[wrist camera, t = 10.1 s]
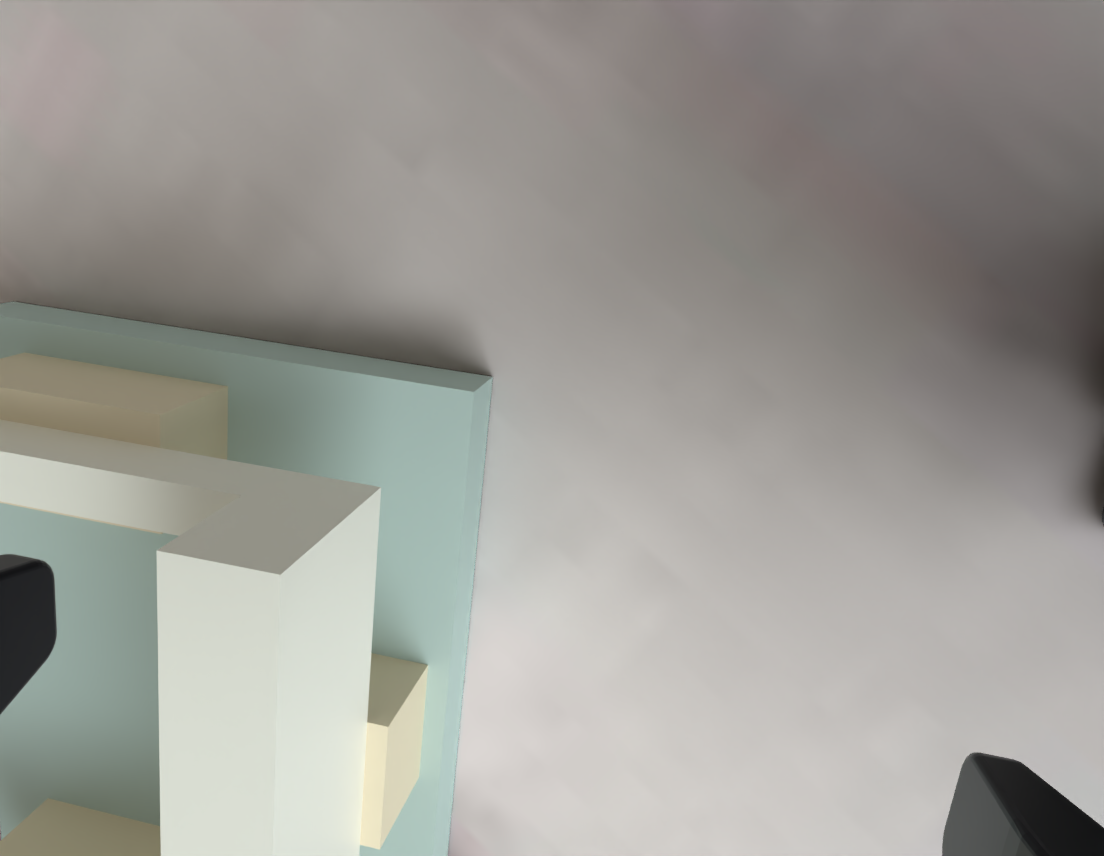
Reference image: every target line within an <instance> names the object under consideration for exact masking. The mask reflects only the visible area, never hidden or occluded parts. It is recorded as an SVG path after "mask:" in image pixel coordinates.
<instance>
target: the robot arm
mask: <svg viewBox="0 0 1104 856" xmlns="http://www.w3.org/2000/svg"><path fill="white" fill-rule="evenodd" d="M1102 522H1103V525H1104V509H1103V513H1102ZM56 637H57V621H56V599H55V578H54V573H53V570H52V568H51V567H50V565H49V564H48V563H46V562H45V561H43V560H40V559H35V558H30V557H25V556H20V555H15V554H4V555H0V715H1V714H2V712H3V711H4V710H5V709H6V708H7V706H8V705H9V704H10V703H11V702H12V701H13V699H14V698H15V697H16V696H17V695H18V693H19V692H20V691H21V690H22V689H23V688H24V686H25V685H26V684H27V683H28V682H29V680H30V679H31V678H32V677H33V676H34V675H35V673H36V672H37V671H38V670H39V669H40V667H41V666H42V665H43V664H44V663H45V662H46V660H47V659H48V658H49V656H50V654H51V652H52V650H53V648H54V645H55V642H56ZM942 856H1104V828H1103V827H1102V826H1101V825H1099V824H1098V823H1097V822H1096V821H1094V820H1093V819H1092V818H1091V817H1089V816H1088V815H1087V814H1086V813H1084V812H1083V811H1082V810H1081V809H1079V808H1078V807H1077V806H1075V805H1074V804H1073V803H1072V802H1070V801H1069V800H1068V799H1067V798H1065V797H1064V796H1063V795H1062V794H1060V793H1059V792H1058V791H1057V790H1055V789H1054V788H1053V787H1052V786H1050V785H1049V784H1048V783H1047V782H1045V781H1044V780H1043V779H1042V778H1040V777H1039V776H1038V775H1036V774H1035V773H1034V772H1033V771H1031V770H1030V769H1029V768H1028V767H1026V766H1025V765H1024V764H1022V763H1021V762H1019V761H1016V760H1013V759H1009V758H1004V757H999V756H994V755H989V754H984V753H972V754H970V755H969V756H968V757H967V758H966V759H965V761H964V763H963V765H962V768H961V771H960V775H959V779H958V782H957V786H956V789H955V793H954V797H953V800H952V804H951V807H950V811H949V815H948V818H947V822H946V825H945V830H944V835H943V845H942Z"/></svg>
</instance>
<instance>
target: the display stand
mask: <svg viewBox="0 0 1104 856" xmlns="http://www.w3.org/2000/svg"><path fill="white" fill-rule="evenodd" d="M492 380H493V377H491V376H485V375H478V374H472V373H466V372H459V371H453V370H447V369H440V368H434V367H427V366H421V365H415V364H408V363H402V362H396V361H389V360H383V359H377V358H370V357H364V356H357V355H351V354H345V353H338V352H332V351H326V350H319V349H313V348H306V347H300V346H294V345H287V344H281V343H275V342H268V341H262V340H256V339H249V338H243V337H236V336H230V335H224V334H217V333H211V332H205V331H198V330H192V329H185V328H179V327H173V326H166V325H160V324H154V323H147V322H141V321H135V320H128V319H122V318H115V317H109V316H103V315H96V314H90V313H84V312H77V311H71V310H64V309H58V308H52V307H45V306H39V305H33V304H26V303H20V302H14V301H13V302H7V303H2V304H0V420H6V421H12V422H17V423H23V424H29V425H34V426H40V427H45V428H51V429H57V430H62V431H68V432H74V433H79V434H85V435H90V436H96V437H102V438H107V439H113V440H119V441H124V442H130V443H135V444H141V445H147V446H152V447H158V448H164V449H169V450H175V451H181V452H186V453H192V454H197V455H203V456H209V457H214V458H220V459H226V460H231V461H237V462H242V463H248V464H254V465H259V466H265V467H271V468H276V469H282V470H287V471H293V472H299V473H304V474H310V475H316V476H321V477H327V478H332V479H338V480H344V481H349V482H355V483H361V484H366V485H372V486H377V487H381V499H380V516H379V533H378V549H377V566H376V583H375V600H374V616H373V633H372V650H371V667H370V684H369V700H368V717H367V734H366V751H365V768H364V784H363V801H362V818H361V835H360V852H359V856H447V855H448V845H449V834H450V824H451V813H452V802H453V792H454V781H455V771H456V760H457V750H458V739H459V729H460V718H461V707H462V697H463V686H464V676H465V665H466V655H467V644H468V634H469V623H470V612H471V602H472V591H473V581H474V570H475V560H476V549H477V539H478V528H479V518H480V507H481V496H482V486H483V475H484V465H485V454H486V444H487V433H488V423H489V412H490V401H491V391H492ZM177 537H178V536H177V535H172V534H167V533H162V532H156V531H151V530H146V529H141V528H136V527H131V526H125V525H120V524H115V523H110V522H105V521H100V520H94V519H89V518H84V517H79V516H74V515H69V514H63V513H58V512H53V511H48V510H43V509H38V508H32V507H27V506H22V505H17V504H12V503H7V502H1V501H0V555H4V554H15V555H20V556H25V557H30V558H35V559H40V560H43V561H45V562H46V563H48V564H49V565H50V567H51V568H52V570H53V573H54V578H55V599H56V621H57V637H56V642H55V645H54V648H53V650H52V652H51V654H50V656H49V658H48V659H47V660H46V662H45V663H44V664H43V665H42V666H41V667H40V669H39V670H38V671H37V672H36V673H35V675H34V676H33V677H32V678H31V679H30V680H29V682H28V683H27V684H26V685H25V686H24V688H23V689H22V690H21V691H20V692H19V693H18V695H17V696H16V697H15V698H14V699H13V701H12V702H11V703H10V704H9V705H8V706H7V708H6V709H5V710H4V711H3V712H2V714H1V715H0V827H1V841H0V856H161V837H160V765H159V694H158V622H157V550H158V549H160V548H161V547H163V546H164V545H166V544H167V543H169V542H170V541H172V540H173V539H175V538H177Z"/></svg>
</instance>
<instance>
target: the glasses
mask: <svg viewBox="0 0 1104 856" xmlns="http://www.w3.org/2000/svg"><path fill="white" fill-rule="evenodd" d="M380 499H381V487H377V486H372V485H366V484H361V483H355V482H349V481H344V480H338V479H332V478H327V477H321V476H316V475H310V474H304V473H299V472H293V471H287V470H282V469H276V468H271V467H265V466H259V465H254V464H248V463H242V462H237V461H231V460H226V459H220V458H214V457H209V456H203V455H197V454H192V453H186V452H181V451H175V450H169V449H164V448H158V447H152V446H147V445H141V444H135V443H130V442H124V441H119V440H113V439H107V438H102V437H96V436H90V435H85V434H79V433H74V432H68V431H62V430H57V429H51V428H45V427H40V426H34V425H29V424H23V423H17V422H12V421H6V420H0V501H1V502H7V503H12V504H17V505H22V506H27V507H32V508H38V509H43V510H48V511H53V512H58V513H63V514H69V515H74V516H79V517H84V518H89V519H94V520H100V521H105V522H110V523H115V524H120V525H125V526H131V527H136V528H141V529H146V530H151V531H156V532H162V533H167V534H172V535H177V536H178V537H177V538H175V539H173V540H172V541H170V542H169V543H167V544H166V545H164V546H163V547H161V548H160V549H158V550H157V622H158V694H159V765H160V837H161V856H359V852H360V835H361V818H362V801H363V784H364V768H365V751H366V734H367V717H368V700H369V684H370V667H371V650H372V633H373V616H374V600H375V583H376V566H377V549H378V533H379V516H380Z"/></svg>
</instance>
